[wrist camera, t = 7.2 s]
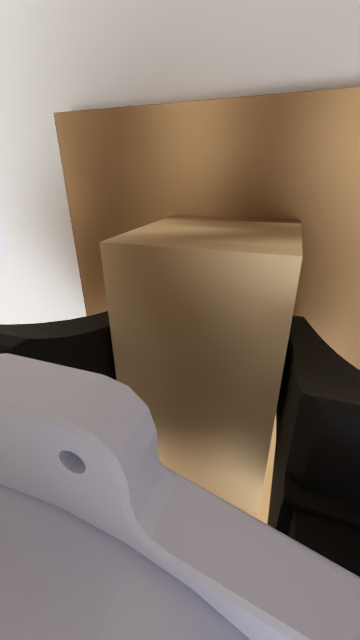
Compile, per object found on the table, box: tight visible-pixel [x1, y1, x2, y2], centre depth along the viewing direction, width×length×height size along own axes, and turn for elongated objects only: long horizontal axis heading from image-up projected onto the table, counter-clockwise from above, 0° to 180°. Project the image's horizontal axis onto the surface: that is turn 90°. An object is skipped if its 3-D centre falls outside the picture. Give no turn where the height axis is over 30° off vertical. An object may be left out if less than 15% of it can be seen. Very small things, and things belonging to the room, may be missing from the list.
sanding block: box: [99, 215, 303, 514], centre depth 10 cm, size 4×8×5 cm, turn 0°
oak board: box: [54, 87, 360, 524], centre depth 15 cm, size 14×22×1 cm, turn 0°
